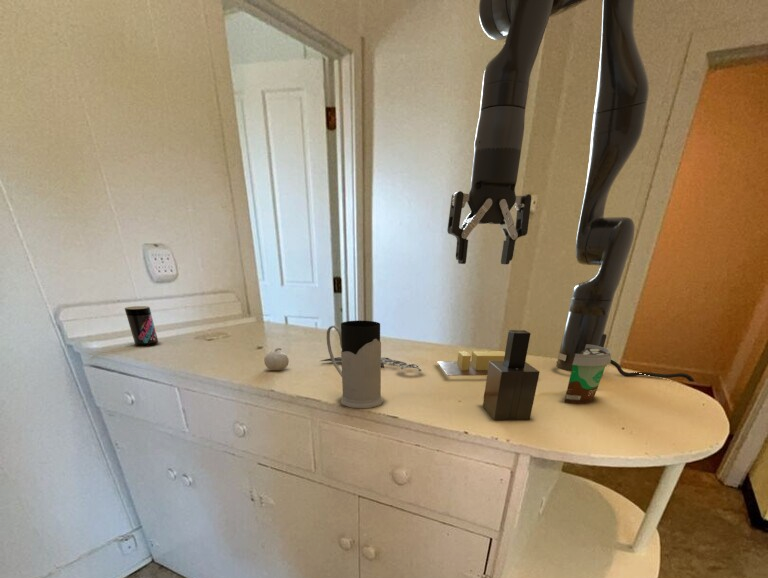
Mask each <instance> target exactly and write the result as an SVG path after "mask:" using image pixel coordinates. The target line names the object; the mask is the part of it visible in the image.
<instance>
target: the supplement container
mask: <svg viewBox="0 0 768 578" xmlns="http://www.w3.org/2000/svg"><path fill="white" fill-rule="evenodd" d="M124 311H125V315H126V318H127V321H128V325H129V329H130V332H131V336H132V339H133V343H134V345H135V346H137V347H142V348H143V347H153V346H157V345H158V344H159V339H158V335H157V330H156V327H155V323H154V319H153V315H152V312H151V311H152V310H151V308H150V306H148V305H147V306H146V305H135V306H126V307H124Z"/></svg>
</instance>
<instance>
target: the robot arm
mask: <svg viewBox="0 0 768 578" xmlns="http://www.w3.org/2000/svg"><path fill="white" fill-rule="evenodd" d="M587 1H588V0H479V3H478V18H479V23H480V25H481V28H482V30H483V32H484V34H486V35H487V37H489V38H490V39H492V40H494V41H503V40H505V41H504V44H503V46H502V48H501V50H500V51H499V52H498V53H497V54H496V55H494V57H492V59H490V60H489V62H488V63H487V64H486V66H485V69H484V73H483V78H482V87H481V97H480V106H479V115H478V121H477V125H476V130H475V139H474V143H473V144H474V145H473V148H474V150H473V160H472V170H471V180H470V190H469V192H468V193H465V192H463V191H461V190H459V191H456V192H455V191H454V192H453V193H451V199H450V206H449V215H448V222H447V234H448V235H451V236H453V237H455V238H456V248H455V259H456V261H457V264H459V265H466V263H467V256H468V247H469V239H468V237H469V236H470V234H471V232H472V231H473V230H474V229H475V228H476V227H477V226H478V225H480V224H481V225H484V224H489V225H498V227H499V228H500V230H501V232H502V233H503V235H504V238H505V240H503V243H502V250H501V258H500V264H501V265H510V262H512V261H513V258H514V253H515V245H516V241H517V240H518V238H521V237H524V236H527V235H528V232H529V231H528V230H529V222H530V214H531V208H532V207H531V206H532V194H528V193H527V194H523V195H522V194H521V195H516V185H517V182H518V175H519V168H520V162H521V155H522V147H523V142H524V134H525V119H526V118H525V117H526V110H527V109H526V108H527V101H528V96H529V95H528V94H529V87H530V79H531V75H532V71H533V69H534V65H535V62H536V60H537V57H538V54H539V51H540V48H541V44H542V42H543V38H544V35H545V33H546V30H547V26H548V23H549V20H550V18H553V17H557V16H559V15H561V14H563V13H567V11H570V10H572V9H574V8H576V7H578V6H580V5H582V4H584V3H586V2H587ZM634 13H635V0H602V13H601V14H602V15H601V34H600V35H601V37H600V51H599V64H598V71H597V72H598V74H597V83H596V91H595V99H594V105H593V106H594V107H593V115H592V122H591V123H592V124H591V131H590V133H591V134H590V144H589V157H588V165H587V174H586V180H585V181H586V182H585V188H584V194H583V200H582V205H581V211H580V217H579V222H578V228H577V233H576V239H575V251H574V252H575V258H576V261H577V262H578V264H579V265H584V266H594V267H595V266H597V267H599V269H598V272H597V274H596V275H595V276H593V277H592V278H590V279H587V280H585V281H582V282H579V283H577V284H575V285H574V287H573V290H572V293H571V298H570V304H569V308H568V312H567V317H566V320H565V325H564V329H563V334H562V339H561V342H560V346H559V347H560V348H559V352H558V356H557V360H556V367H555V368H558V369H560V370H563V371H568V372H571V371H572V367H573V365H572V364H573V361H574V357H575V354H580V352H581V351H584V350H585V347H586V344H588V345H595V346H600V347H604V348H605V343H606V340H607V338H608V337H607V336H608V335H607V334H606V333H605V331H606V327H607V323H608V319H609V316H610V313H611V309H612V305H613V301H614V298H615V295H616V292H617V290H618V288H619V285H620V283H621V279H622V276H623V273H624V270H625V267H626V265H627V261H628V258H629V255H630V252H631V249H632V245H633V241H634V237H635V229H636V228H635V223H634V220H633V219H632V218H630V217H628V216H615V217H614V216H613V217H612V216H611V217H610V216H609V217H605V210H606V204H607V200H608V197H609V194H610V191H611V188H612V186H613V184H614V183H615V181H616V179H617V178H618V175H619V174H620V172H621V171H622V169H623V167H624V166H625V165H626V163H627V162H628V160H629V159H630V157H631V155H632V154H633V152H634V150H635V148H636V147H637V145H638V143H639V141H640V139H641V137H642V134H643V128H644V125H645V124H644V123H645V118H646V113H647V112H646V111H647V107H648V100H649V93H650V84H649V78H648V73H647V70H646V67H645V64H644V61H643V59H642V56H641V53H640V51H639V48H638V44H637V40H636V36H635V30H634V16H635V14H634ZM466 204H467V205H468V208H469V210H470V212H469V213H468V215H467V216H466V217H465V219H464V221H463V224H462V225H461V226H460V224H461V217H462V209H464V208H465V206H466ZM514 206H515V210H516V218H515V220H514V218H513V216H512V214H511V210H512V208H513V207H514ZM610 364H611V366H614V367H615V368H616V370H617V371H618V372H619V374H620V375H622V376H624V377H635V376H636V377H637V376H646V377H652V378H653V377H654V378H662V379H668V378H670V379H671V378H685V379H686V380H688V381H689V382H692V383H695V379H694V378H693V377H692V376H691V375H690V374H687V373H684V372H677V373H658V372H657V373H655V372H649V371H633V372H627V371H624V370H623V368H622V367H621V365H620V364H619V363H618V362H617V361H615V360H613V359H611V362H610ZM610 364H609V365H610ZM605 367H607V365H606V366H605ZM634 372H635V373H634ZM636 372H637V373H636ZM639 373H642V374H639ZM644 374H646V375H644ZM648 375H650V376H648Z"/></svg>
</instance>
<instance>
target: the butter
mask: <svg viewBox="0 0 768 578" xmlns="http://www.w3.org/2000/svg"><path fill="white" fill-rule="evenodd" d="M504 356H505V350H498V351H497V350H496V351H495V350H494V351H493V350H488V351H486V350H484V351H483V350H481V351H480V350H479V351H477V350H476V351H475V350H472V352H471V359H470V361H471V366H472V367H473V368H474V369H475V370H488V366H489V361H504Z"/></svg>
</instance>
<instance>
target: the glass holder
mask: <svg viewBox="0 0 768 578" xmlns="http://www.w3.org/2000/svg"><path fill="white" fill-rule="evenodd" d="M333 328H334V329H335V330H336V332H337V334H338V337H339V345H340V348H341V351H340V357H341V368H340V367H339V365H338V364H337V361H335V359H334V358H335V357H334V353H333V351H332V350H333V349H332V346H331V330H332V329H333ZM326 346H327V351H328V354H329V357H330V358H331V360H332V361H331V363H332V364H333V366H334V368H335V370H336V371H337V373H338V374H339V375H340V376H341V383H342V397H341V399H340V403H341V404H342V405H343V406H345V407H347V408H353V409H370V408H371V409H372V408H375V407H379V406H381V405H382V404H383V402H384V400H383V398H382V387H381V385H382V367H381V357H382V342H381V323H380V322H377V321H373V320H347V321H343V322H341V323H340V327H339V326H337V325H330V326H329V327H328V328H327V330H326ZM330 358H329V359H330Z"/></svg>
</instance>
